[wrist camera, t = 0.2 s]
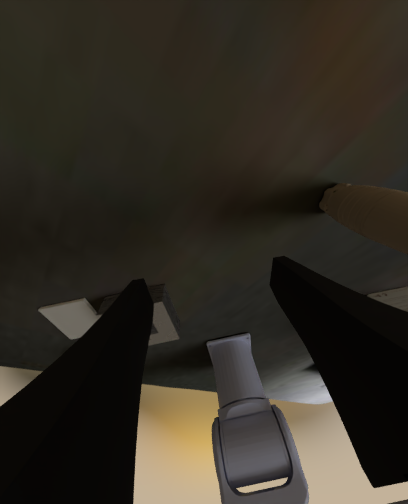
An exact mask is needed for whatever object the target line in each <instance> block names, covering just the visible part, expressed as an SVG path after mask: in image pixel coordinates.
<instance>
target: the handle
mask: <svg viewBox="0 0 408 504" xmlns="http://www.w3.org/2000/svg"><path fill="white" fill-rule="evenodd" d="M319 207H320V208H321V209H322V210H323V211H325V212H326V213H327V214H328V215H329V216H331V217H332V218H334V219H335V220H336V221H337V222H339V223H340V224H342V225H344V226H346V227H347V228H349V229H351V230H353V231H354V232H356V233H358V234H361V235H362V236H364V237H367V238H369V239H371V240H373V241H376V242H378V243H381V244H383V245H386V246H388V247H390V248H393V249H395V250H398V251H400V252H403V253H405V254H408V192H403V191H399V190H394V189H388V188H382V187H374V186H363V185H352V186H351V184H346V183H340V184H337V185H336V186H334V187H333V188H328V189H327V190H326V191H325V192H324V196H323V198H322V200H321V201H320V203H319Z"/></svg>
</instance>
